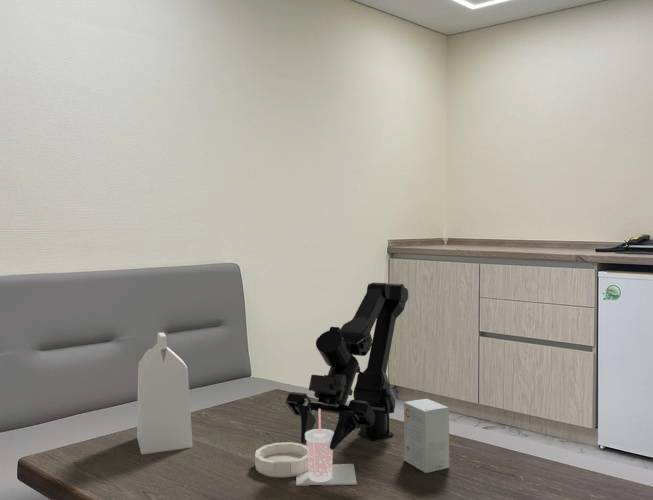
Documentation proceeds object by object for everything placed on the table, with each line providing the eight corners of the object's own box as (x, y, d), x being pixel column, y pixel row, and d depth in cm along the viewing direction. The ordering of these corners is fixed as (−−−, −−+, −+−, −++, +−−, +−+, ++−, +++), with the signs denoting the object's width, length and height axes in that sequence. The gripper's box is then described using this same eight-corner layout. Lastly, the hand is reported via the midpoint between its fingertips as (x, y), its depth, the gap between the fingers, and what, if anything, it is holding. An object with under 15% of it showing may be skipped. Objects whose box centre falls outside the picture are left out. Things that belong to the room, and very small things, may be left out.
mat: (353, 465, 130) (353, 463, 130) (356, 484, 120) (356, 483, 120) (297, 466, 130) (297, 464, 130) (295, 485, 120) (295, 484, 120)
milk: (192, 447, 142) (190, 336, 141) (141, 454, 138) (138, 340, 137) (184, 431, 153) (182, 328, 153) (137, 437, 149) (134, 332, 148)
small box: (450, 468, 128) (449, 407, 128) (425, 474, 125) (424, 411, 125) (427, 455, 135) (427, 397, 135) (403, 460, 133) (403, 401, 132)
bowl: (294, 452, 138) (294, 438, 138) (322, 469, 128) (322, 455, 128) (246, 463, 132) (246, 449, 132) (271, 482, 122) (271, 467, 122)
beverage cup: (340, 474, 125) (339, 406, 124) (326, 485, 119) (325, 415, 119) (314, 469, 127) (313, 403, 127) (299, 480, 122) (298, 411, 122)
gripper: (288, 354, 130) (261, 420, 121) (369, 362, 122) (346, 433, 112) (307, 382, 138) (282, 446, 128) (384, 391, 129) (364, 461, 120)
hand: (316, 446), depth 122 cm, fingers closed on beverage cup, 6 cm apart
